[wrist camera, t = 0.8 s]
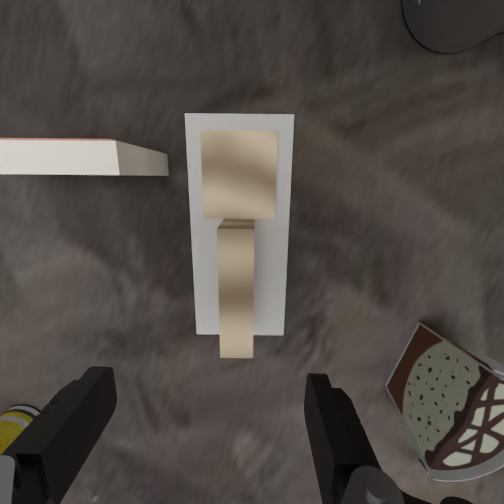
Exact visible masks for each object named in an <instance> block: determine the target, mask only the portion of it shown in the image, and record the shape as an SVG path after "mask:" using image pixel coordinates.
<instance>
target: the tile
mask: <svg viewBox="0 0 504 504" xmlns="http://www.w3.org/2000/svg"><path fill="white" fill-rule="evenodd" d="M0 174H46V175H144V176H169V169H168V156H167V154H165V153H162V152H159V151H155V150H152V149H148V148H144V147H140V146H137V145H133V144H129V143H125V142H121V141H118V140H114V139H55V138H0Z"/></svg>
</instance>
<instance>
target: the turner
mask: <svg viewBox="0 0 504 504" xmlns="http://www.w3.org/2000/svg"><path fill="white" fill-rule="evenodd" d="M200 140H201V165H202V189H203V214H204V218H207V219H223V221H222V222H221V224H220V225H219V226H218V228H217V256H218V293H219V331H220V358H253V314H254V235H255V219H275V204H276V174H277V144H278V131H269V130H200Z"/></svg>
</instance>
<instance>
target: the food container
mask: <svg viewBox="0 0 504 504" xmlns="http://www.w3.org/2000/svg"><path fill="white" fill-rule="evenodd" d="M481 357H482V358H483V359H484V360H485V362H486V363H487V364H488V365H487V364H486V363H484V362H483V361H481V360H480V359H478V358H477V357H475V356H474V355H472V354H471V353H469V352H468V351H466V350H465V349H463V348H462V347H460V346H459V345H457V344H456V343H454V342H453V341H451V340H450V339H448V338H447V337H445V336H444V335H442V334H441V333H439V332H438V331H436V330H435V329H433V328H432V327H430V326H429V325H427V324H425V323H423V322H420V321H418V322H417V324H416V326H415V328H414V330H413V332H412V334H411V336H410V338H409V339H408V341H407V343H406V345H405V347H404V349H403V351H402V353H401V355H400V357H399V358H398V360H397V362H396V364H395V366H394V368H393V370H392V372H391V374H390V375H389V377H388V379H387V381H386V383H385V385H384V386H385V388H386V390H387V392H388V394H389V396H390V398H391V400H392V402H393V404H394V406H395V408H396V410H397V412H398V414H399V416H400V417H401V419H402V421H403V423H404V425H405V427H406V429H407V431H408V433H409V435H410V437H411V439H412V441H413V443H414V445H415V447H416V449H417V451H418V453H419V455H420V457H421V459H422V460H421V459H417V462H418V463H419V464H420V465H421V467H422V468H423V469H424V471H425V472H426V473H427V474H430V476H431V478H432V479H433V480H437V481H447V482H455V481H465V480H471V479H475V478H478V477H482V476H485V475H487V474H490V473H492V472H494V471H496V470H498V469H500V468H502V467H503V466H504V366H502V365H501V364H500V363H498V362H496V361H495V360H493V359H491V358H488V357H485V356H483V355H482V356H481Z"/></svg>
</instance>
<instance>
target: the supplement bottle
mask: <svg viewBox="0 0 504 504" xmlns="http://www.w3.org/2000/svg"><path fill="white" fill-rule="evenodd" d="M38 414H40V413H39V412H38V411H37V410H35V409H34V408H32V407H29V406H15V407H12V408H10V409H8V410H7V411H6V412H5V413H4V414H2V416H0V455H1V454H2V453H3V452H4V451H5V450H6V449H7V448H8V446H9V445H10V444H11V443H12V442H13V441H14V440H15V439H16V438H17V437H18V436H19V434H20V433H21V432H22V431H23V430H24V429H25V428H26V427H27V426H28V425H29V423H30V422H31V421H32V420H33V419H34V418H35V417H36V416H37V415H38Z"/></svg>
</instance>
